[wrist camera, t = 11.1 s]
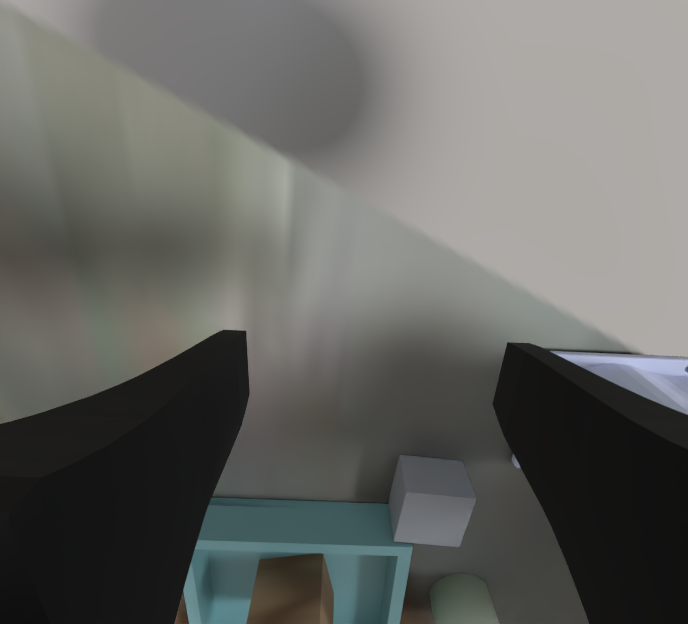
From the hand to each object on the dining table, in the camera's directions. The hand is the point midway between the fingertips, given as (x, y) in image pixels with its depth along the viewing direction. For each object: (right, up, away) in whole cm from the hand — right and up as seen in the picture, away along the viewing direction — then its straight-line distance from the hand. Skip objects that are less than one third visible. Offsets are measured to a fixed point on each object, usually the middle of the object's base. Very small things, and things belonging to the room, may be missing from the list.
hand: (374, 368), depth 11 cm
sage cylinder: (+8, -20, +19) cm, 28 cm away
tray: (-4, -17, +18) cm, 25 cm away
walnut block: (-4, -17, +17) cm, 25 cm away
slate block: (+4, -9, +14) cm, 18 cm away
